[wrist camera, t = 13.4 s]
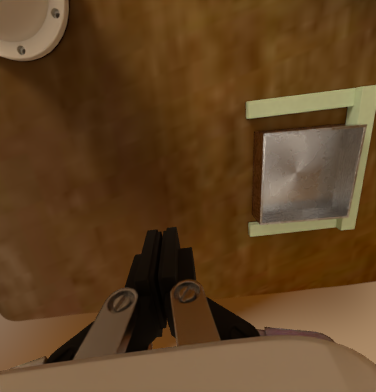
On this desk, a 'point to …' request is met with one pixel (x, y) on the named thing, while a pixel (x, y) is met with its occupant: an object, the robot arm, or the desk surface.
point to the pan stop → (356, 114)
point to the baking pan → (305, 172)
